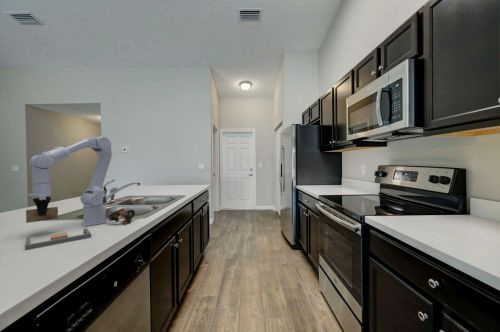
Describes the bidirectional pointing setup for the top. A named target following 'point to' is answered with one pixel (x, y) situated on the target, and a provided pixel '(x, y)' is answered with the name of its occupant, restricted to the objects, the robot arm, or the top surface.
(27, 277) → the top surface
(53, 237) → the tile
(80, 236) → the bay
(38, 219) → the brown wooden board
